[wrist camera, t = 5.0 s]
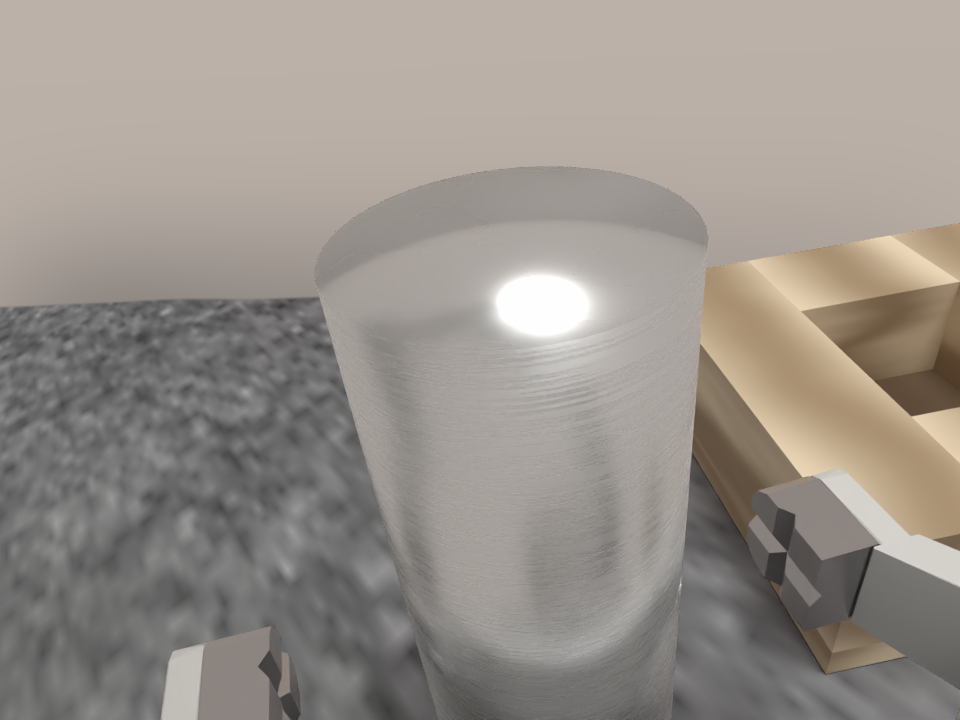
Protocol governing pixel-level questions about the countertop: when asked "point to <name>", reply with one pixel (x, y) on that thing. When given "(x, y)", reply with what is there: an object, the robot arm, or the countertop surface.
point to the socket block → (837, 388)
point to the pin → (528, 428)
